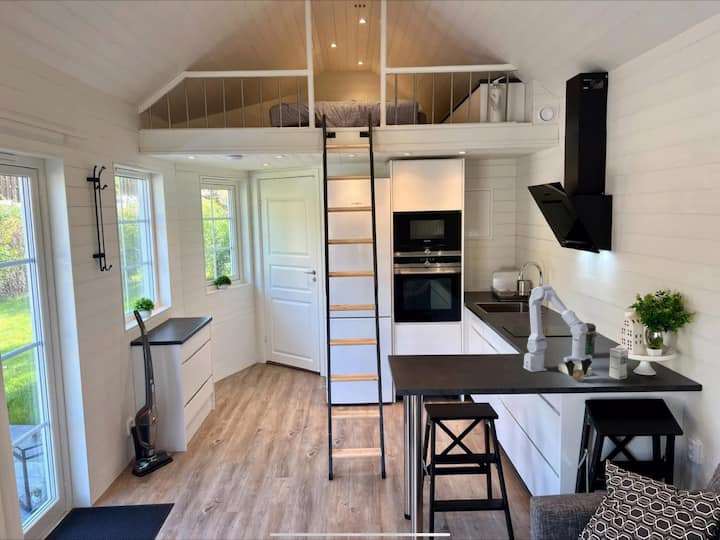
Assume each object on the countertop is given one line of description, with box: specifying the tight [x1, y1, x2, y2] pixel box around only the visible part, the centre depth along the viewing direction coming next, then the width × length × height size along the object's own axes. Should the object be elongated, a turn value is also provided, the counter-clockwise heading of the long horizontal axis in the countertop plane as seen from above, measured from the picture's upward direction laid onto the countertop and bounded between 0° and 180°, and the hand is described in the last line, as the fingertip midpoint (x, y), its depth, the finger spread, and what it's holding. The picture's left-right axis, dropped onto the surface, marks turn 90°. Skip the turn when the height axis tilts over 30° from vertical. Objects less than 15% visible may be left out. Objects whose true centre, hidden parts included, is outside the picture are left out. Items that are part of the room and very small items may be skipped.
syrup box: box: [608, 346, 629, 380], centre depth 246 cm, size 6×6×14 cm
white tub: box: [557, 361, 593, 377], centre depth 253 cm, size 11×11×4 cm
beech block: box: [570, 369, 585, 383], centre depth 243 cm, size 4×4×5 cm
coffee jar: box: [583, 322, 597, 358], centre depth 280 cm, size 10×8×19 cm
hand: (577, 374), depth 243 cm, fingers open, 7 cm apart
